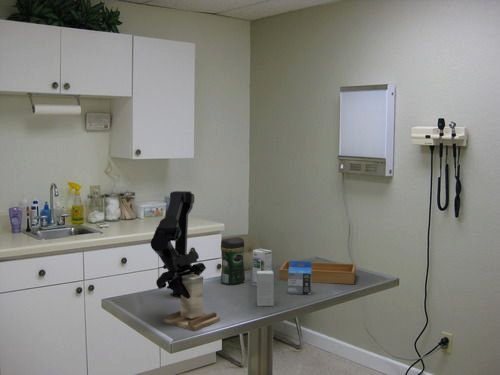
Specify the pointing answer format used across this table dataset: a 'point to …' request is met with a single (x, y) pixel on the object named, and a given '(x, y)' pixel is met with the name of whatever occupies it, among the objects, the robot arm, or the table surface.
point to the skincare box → (265, 288)
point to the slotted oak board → (192, 320)
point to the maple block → (192, 296)
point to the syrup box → (261, 262)
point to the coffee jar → (232, 261)
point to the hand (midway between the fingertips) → (194, 296)
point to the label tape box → (299, 277)
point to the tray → (326, 272)
